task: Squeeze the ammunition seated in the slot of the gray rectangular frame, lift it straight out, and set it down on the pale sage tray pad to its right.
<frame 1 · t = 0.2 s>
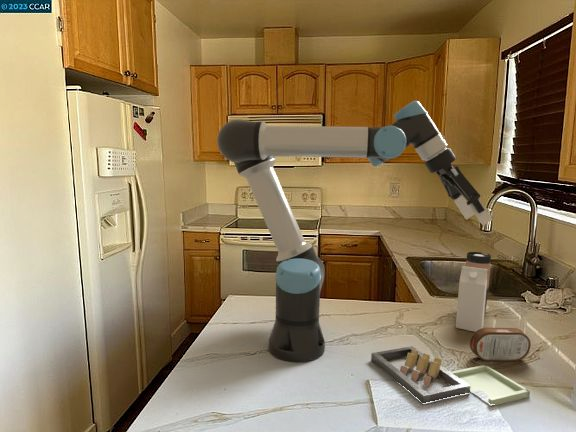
hand: (478, 219, 109), 35 cm above the counter, tool tilted 35°, fingers open, 13 cm apart
tin: (498, 360, 104), on the counter
travel mug: (474, 310, 139), on the counter
ammunition: (419, 377, 95), resting in gray rectangular frame
milk carton: (469, 327, 125), on the counter
gray rectangular frame: (416, 376, 95), on the counter
tray pad: (487, 386, 91), on the counter
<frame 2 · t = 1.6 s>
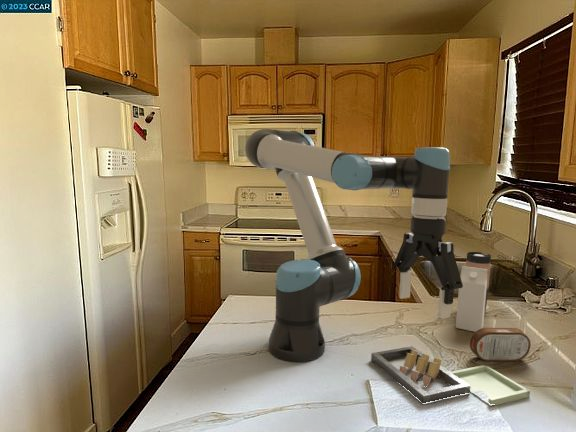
hand: (423, 306, 93), 17 cm above the counter, tool pointing down, fingers open, 13 cm apart
nothing on the counter moved.
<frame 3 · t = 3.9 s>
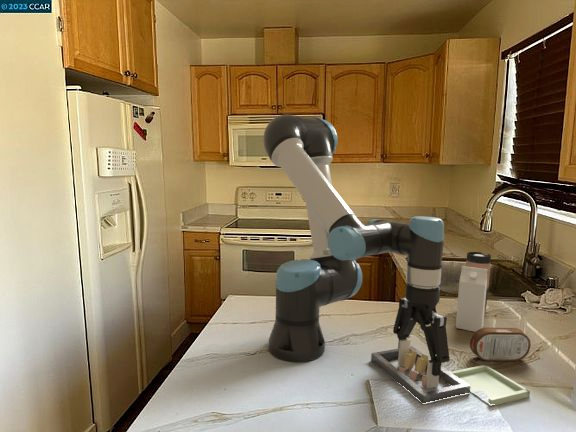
hand: (417, 375, 95), 0 cm above the counter, tool pointing down, fingers open, 10 cm apart
ammunition: (418, 377, 95), resting in gray rectangular frame, touching gripper
everything else where it was.
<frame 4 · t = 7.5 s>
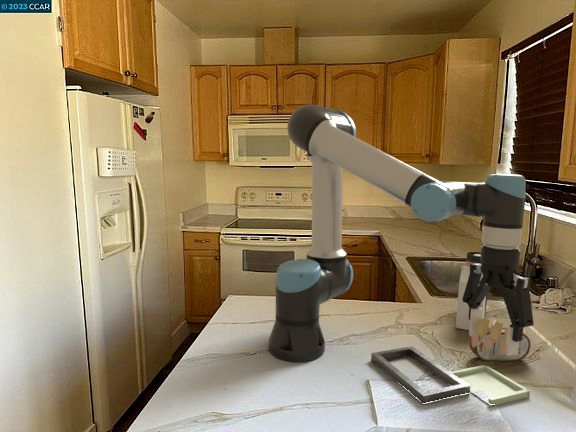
hand: (492, 344, 89), 10 cm above the counter, tool pointing down, fingers closed on ammunition, 9 cm apart
ammunition: (493, 346, 89), point 10 cm above the counter, touching gripper
everything else where it was.
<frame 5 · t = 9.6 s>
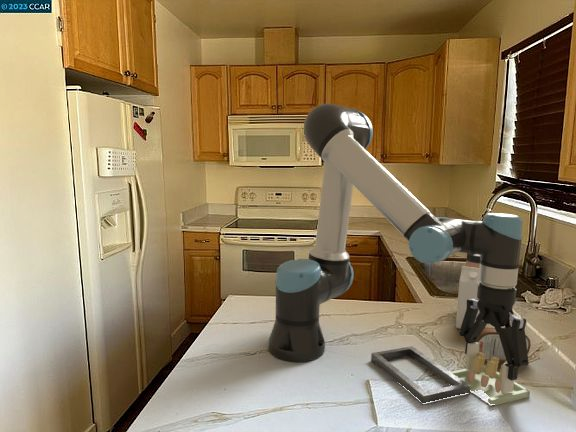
hand: (488, 379, 90), 2 cm above the counter, tool pointing down, fingers closed on ammunition, 9 cm apart
ammunition: (489, 382, 91), point 1 cm above the counter, touching gripper
everything else where it was.
when the fingers open (2 cm above the counter, at t = 9.8 s): ammunition stays where it is, resting on tray pad.
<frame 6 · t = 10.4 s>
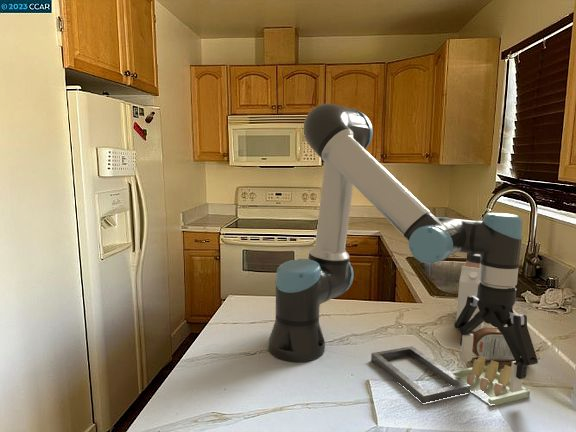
hand: (488, 374, 90), 3 cm above the counter, tool pointing down, fingers open, 13 cm apart
ammunition: (488, 385, 91), resting on tray pad
everything else where it was.
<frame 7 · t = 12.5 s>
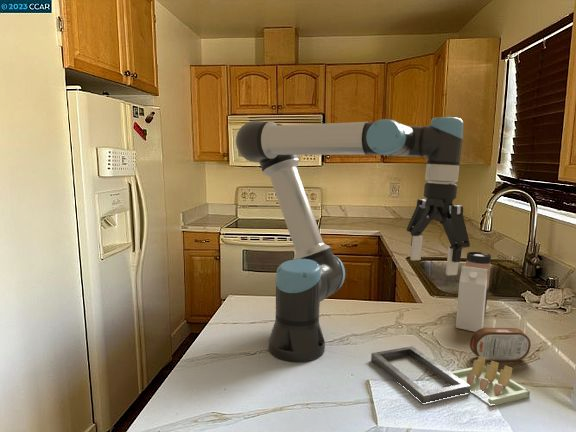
hand: (432, 267, 100), 24 cm above the counter, tool pointing down, fingers open, 13 cm apart
nothing on the counter moved.
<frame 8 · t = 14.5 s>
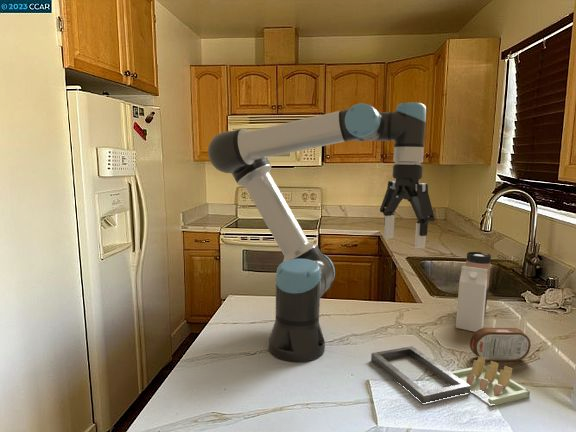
hand: (403, 243, 108), 29 cm above the counter, tool pointing down, fingers open, 13 cm apart
nothing on the counter moved.
at the end: ammunition inside the target area on the tray pad (0.1 cm from its centre), point 0.2 cm above the tray pad's base; the gripper is holding nothing; ammunition moved 15.4 cm from its start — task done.
